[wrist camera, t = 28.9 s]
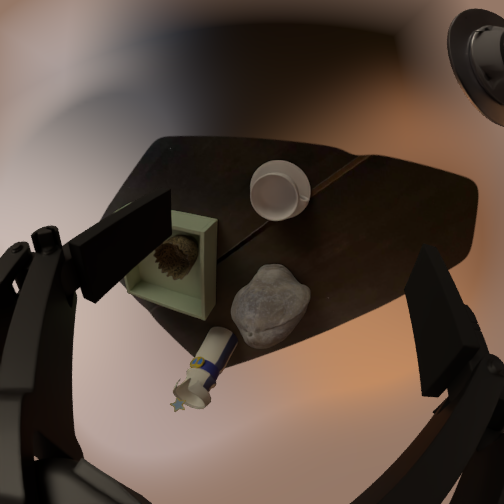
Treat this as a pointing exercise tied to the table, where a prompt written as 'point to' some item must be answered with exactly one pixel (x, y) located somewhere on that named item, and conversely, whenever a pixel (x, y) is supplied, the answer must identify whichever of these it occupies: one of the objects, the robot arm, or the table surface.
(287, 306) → the decorative stone
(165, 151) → the table surface
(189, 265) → the dark brown hollow vessel
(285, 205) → the teacup
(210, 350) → the white blue vase
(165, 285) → the bin
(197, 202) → the table surface
